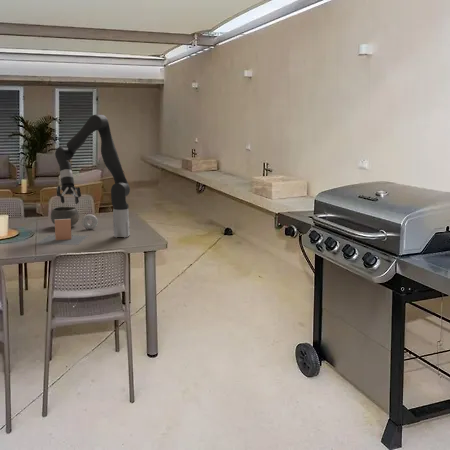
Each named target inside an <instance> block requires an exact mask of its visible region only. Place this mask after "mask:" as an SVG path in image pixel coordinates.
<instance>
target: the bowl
mask: <svg viewBox="0 0 450 450" xmlns="http://www.w3.org/2000/svg"><path fill="white" fill-rule="evenodd" d="M55 219H71V227H73V226H74V225H76V224H77V223H78V222H79V220H80V214H79V211H78V209H77V207H76V206H75V207H74V206H57V207H53V208H52V209H51V212H50V220H51V223H53V225H55Z"/></svg>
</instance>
